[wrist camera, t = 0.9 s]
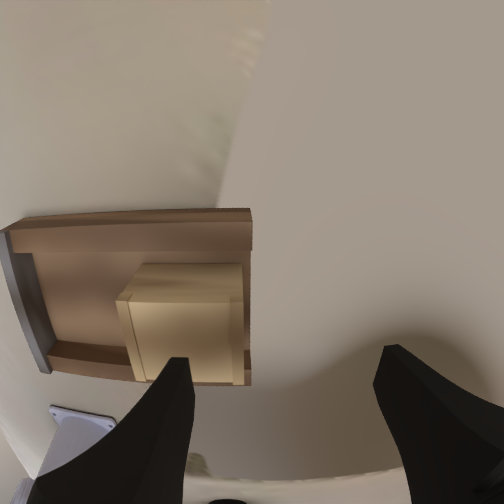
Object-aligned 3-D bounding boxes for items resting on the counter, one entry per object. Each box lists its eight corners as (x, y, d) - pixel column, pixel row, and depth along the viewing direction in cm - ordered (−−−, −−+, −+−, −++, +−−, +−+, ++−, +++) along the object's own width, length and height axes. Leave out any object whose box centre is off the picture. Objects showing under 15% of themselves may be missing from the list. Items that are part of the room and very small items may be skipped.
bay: (249, 357, 22) (251, 391, 19) (58, 346, 21) (40, 372, 18) (250, 208, 18) (252, 224, 15) (23, 217, 17) (-6, 233, 14)
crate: (242, 335, 20) (244, 384, 16) (153, 334, 20) (136, 380, 15) (241, 261, 18) (243, 302, 14) (141, 262, 18) (115, 300, 13)
